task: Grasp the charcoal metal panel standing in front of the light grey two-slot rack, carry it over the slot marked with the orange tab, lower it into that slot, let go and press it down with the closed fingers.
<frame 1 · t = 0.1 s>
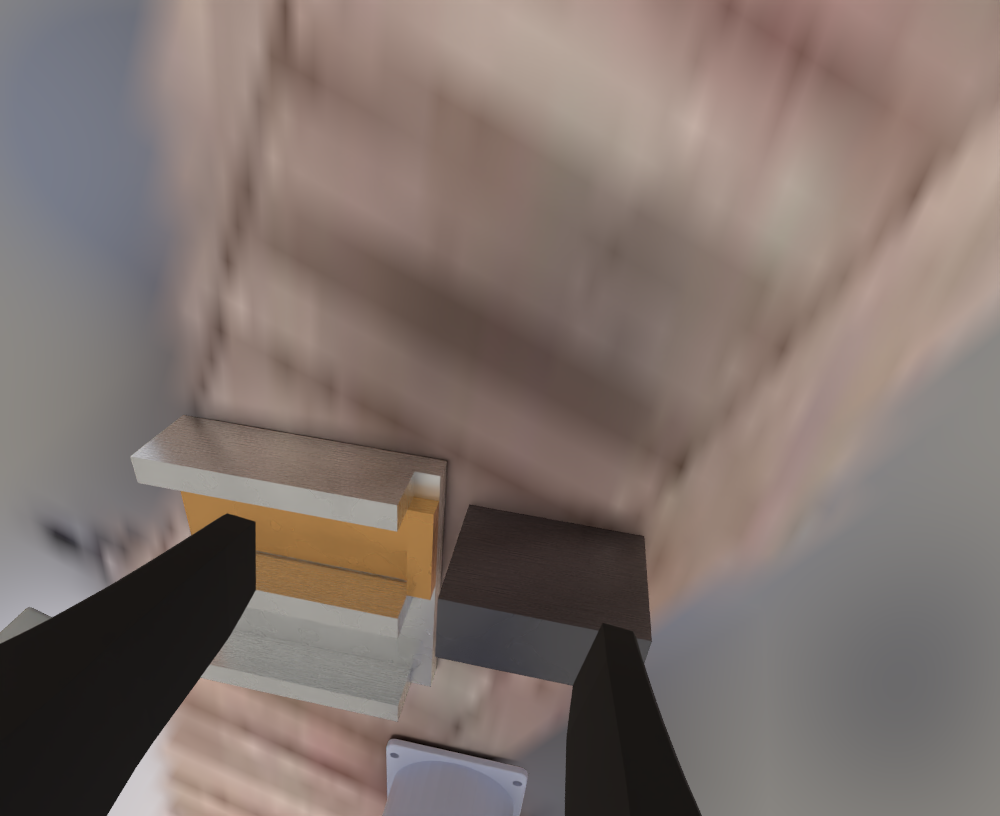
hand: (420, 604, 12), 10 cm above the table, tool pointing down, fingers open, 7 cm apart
rack: (322, 554, 26), on the table
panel: (550, 546, 24), on the table
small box: (70, 656, 34), on the table
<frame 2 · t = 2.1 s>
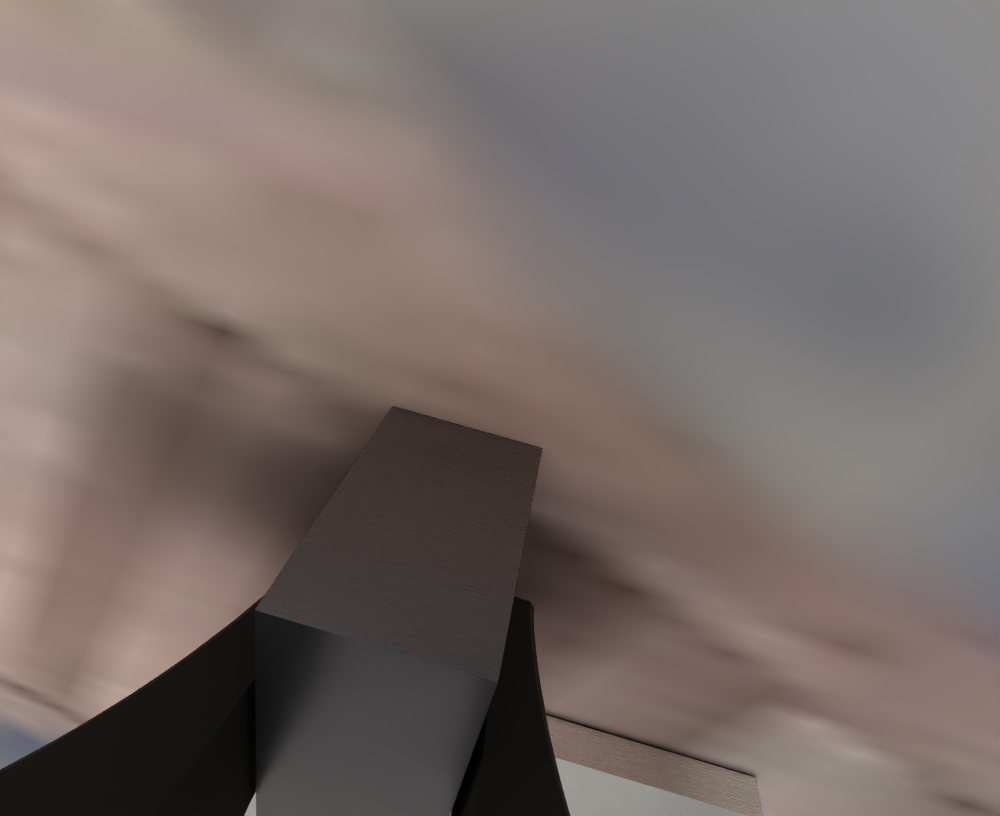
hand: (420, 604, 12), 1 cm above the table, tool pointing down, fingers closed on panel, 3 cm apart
rack: (476, 806, 18), on the table
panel: (438, 554, 13), on the table, touching gripper
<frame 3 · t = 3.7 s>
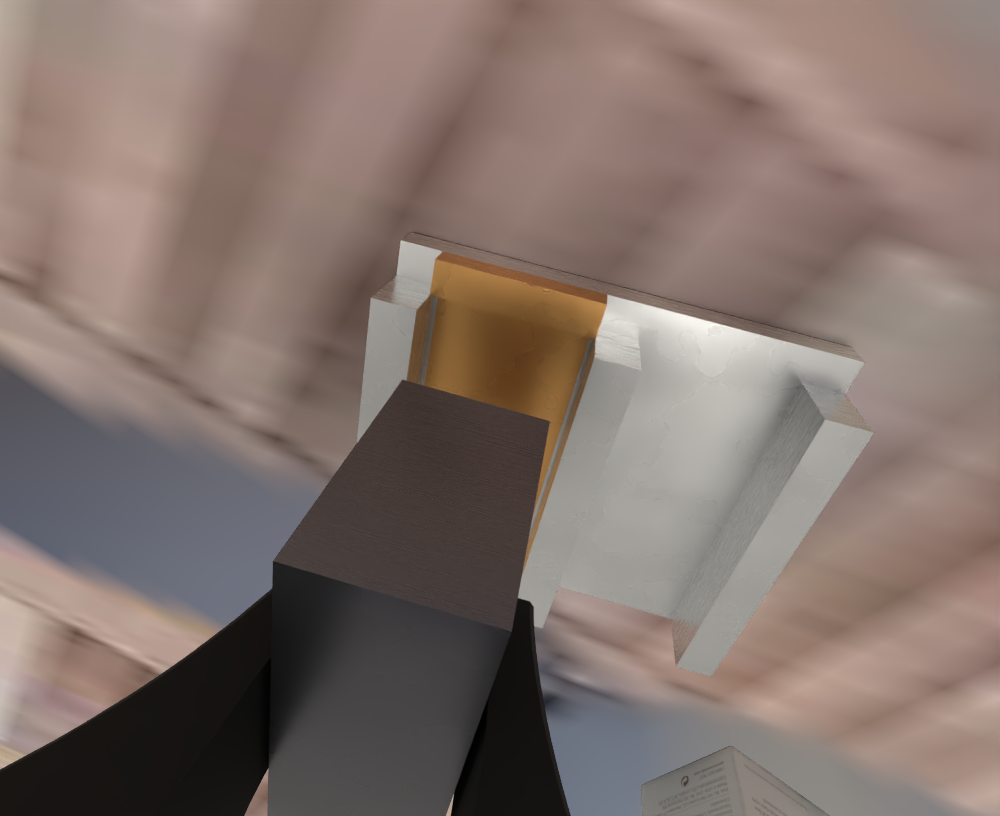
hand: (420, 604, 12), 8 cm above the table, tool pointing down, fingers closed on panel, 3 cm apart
rack: (574, 444, 19), on the table
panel: (445, 530, 13), point 7 cm above the table, touching gripper
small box: (740, 797, 27), on the table
when the fingers open (4 cm above the table, at t = 5.3 s): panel stays where it is, resting on rack.
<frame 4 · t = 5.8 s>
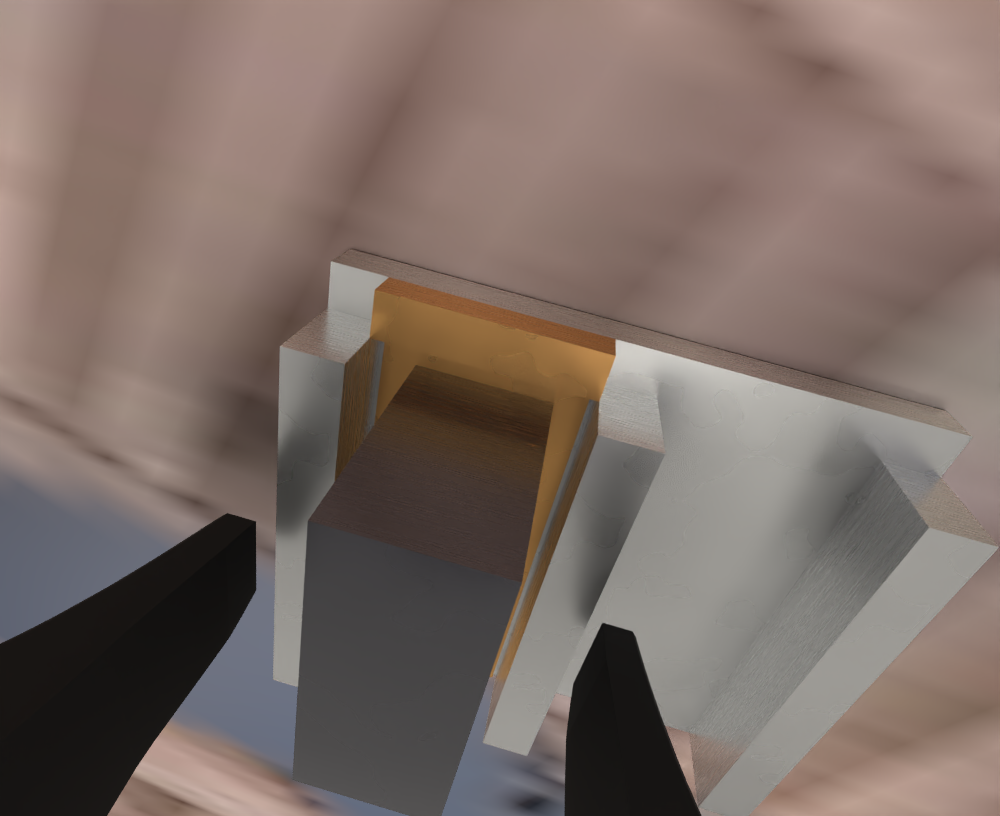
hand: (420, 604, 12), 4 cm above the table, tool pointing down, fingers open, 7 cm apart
rack: (570, 521, 15), on the table
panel: (455, 508, 14), point 1 cm above the table, touching rack
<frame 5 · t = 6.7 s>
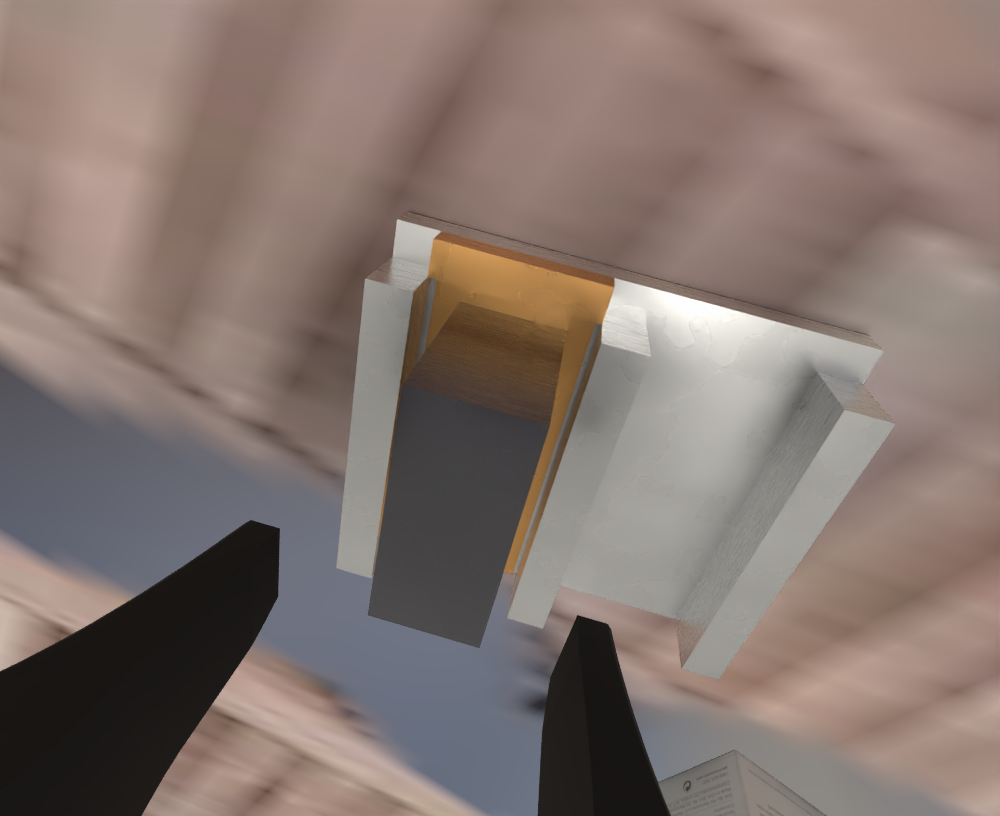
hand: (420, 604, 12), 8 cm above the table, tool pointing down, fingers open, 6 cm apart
rack: (577, 437, 18), on the table
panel: (486, 422, 17), point 1 cm above the table, touching rack
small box: (743, 802, 27), on the table
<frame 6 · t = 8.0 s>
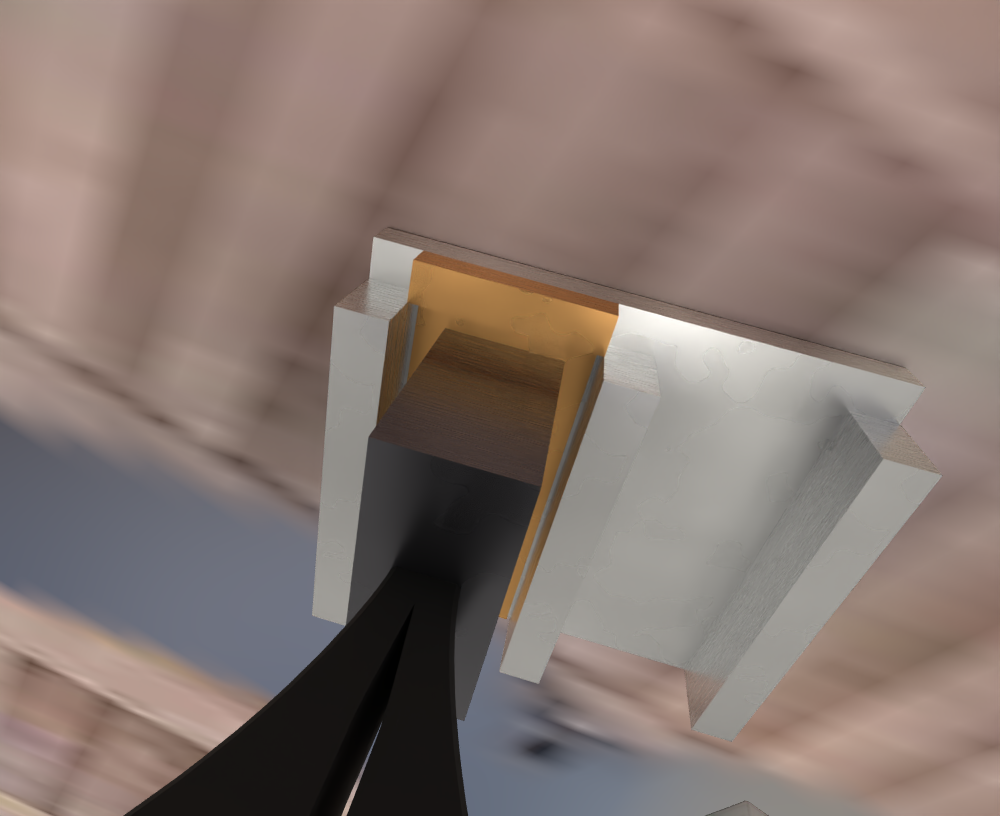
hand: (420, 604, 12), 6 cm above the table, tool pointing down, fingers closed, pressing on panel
rack: (577, 473, 17), on the table
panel: (476, 458, 16), point 1 cm above the table, touching gripper, rack
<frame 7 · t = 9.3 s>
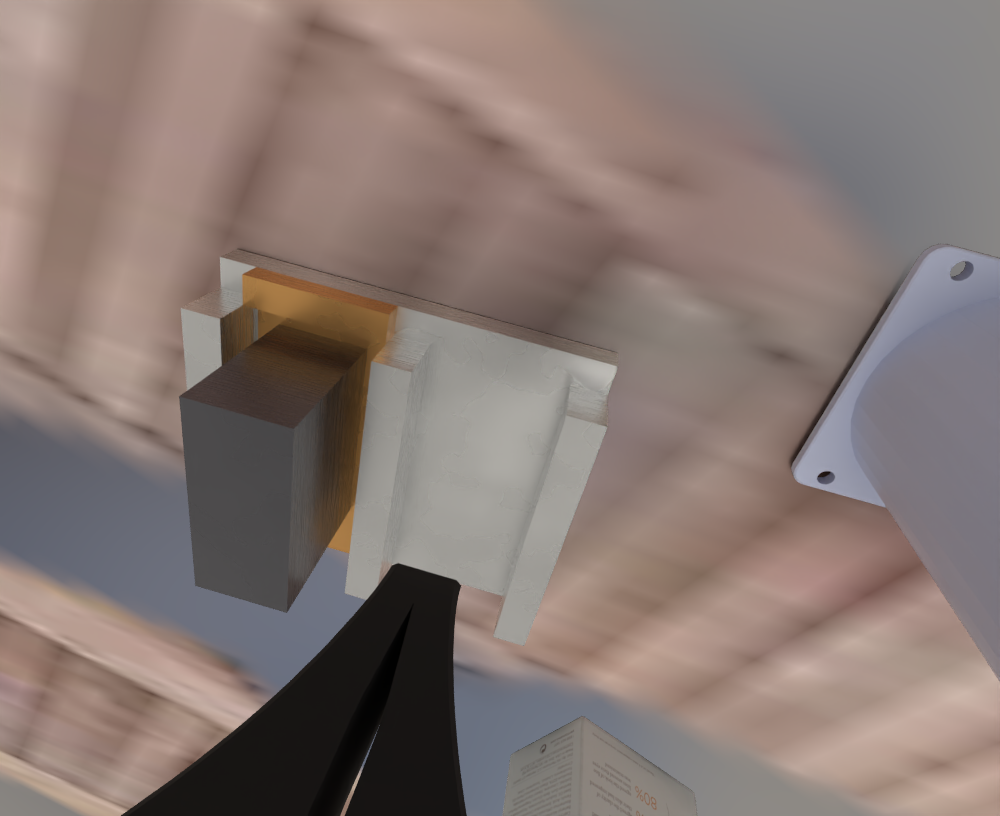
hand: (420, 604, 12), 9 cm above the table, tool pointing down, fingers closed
rack: (403, 437, 21), on the table
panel: (317, 424, 20), point 1 cm above the table, touching rack
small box: (602, 766, 30), on the table
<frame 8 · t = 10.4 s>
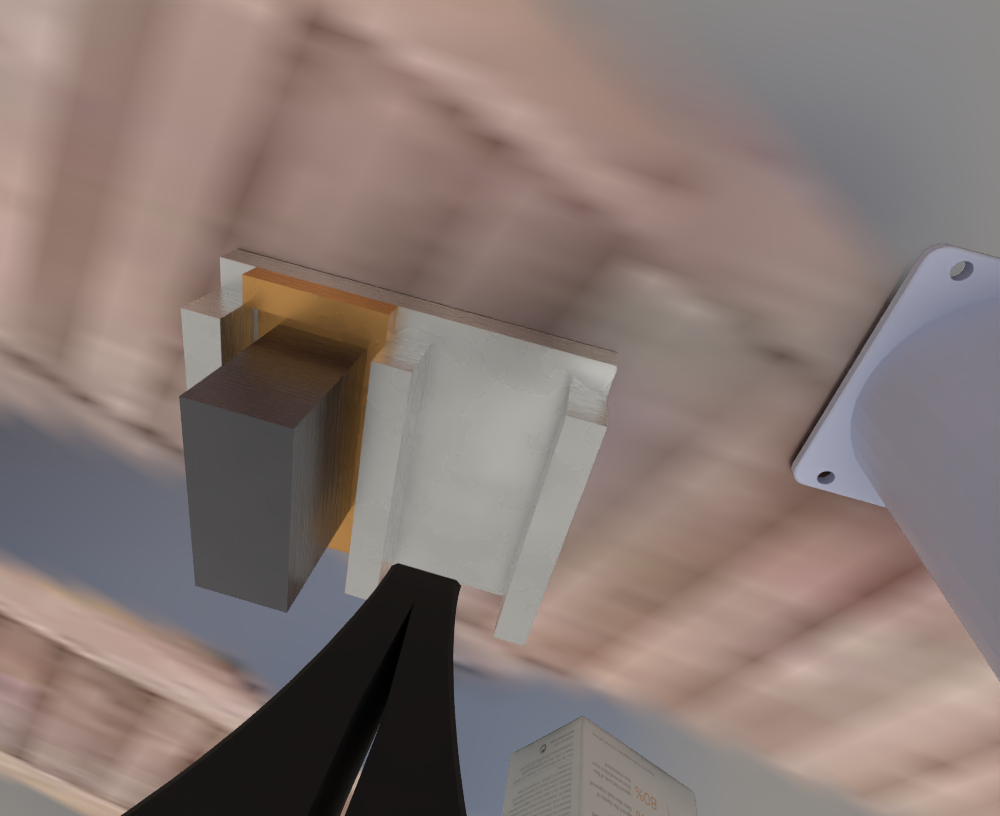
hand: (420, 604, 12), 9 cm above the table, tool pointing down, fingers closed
rack: (403, 437, 21), on the table
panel: (317, 424, 20), point 1 cm above the table, touching rack
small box: (602, 766, 30), on the table
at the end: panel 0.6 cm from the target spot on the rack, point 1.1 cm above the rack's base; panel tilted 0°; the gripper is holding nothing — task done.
